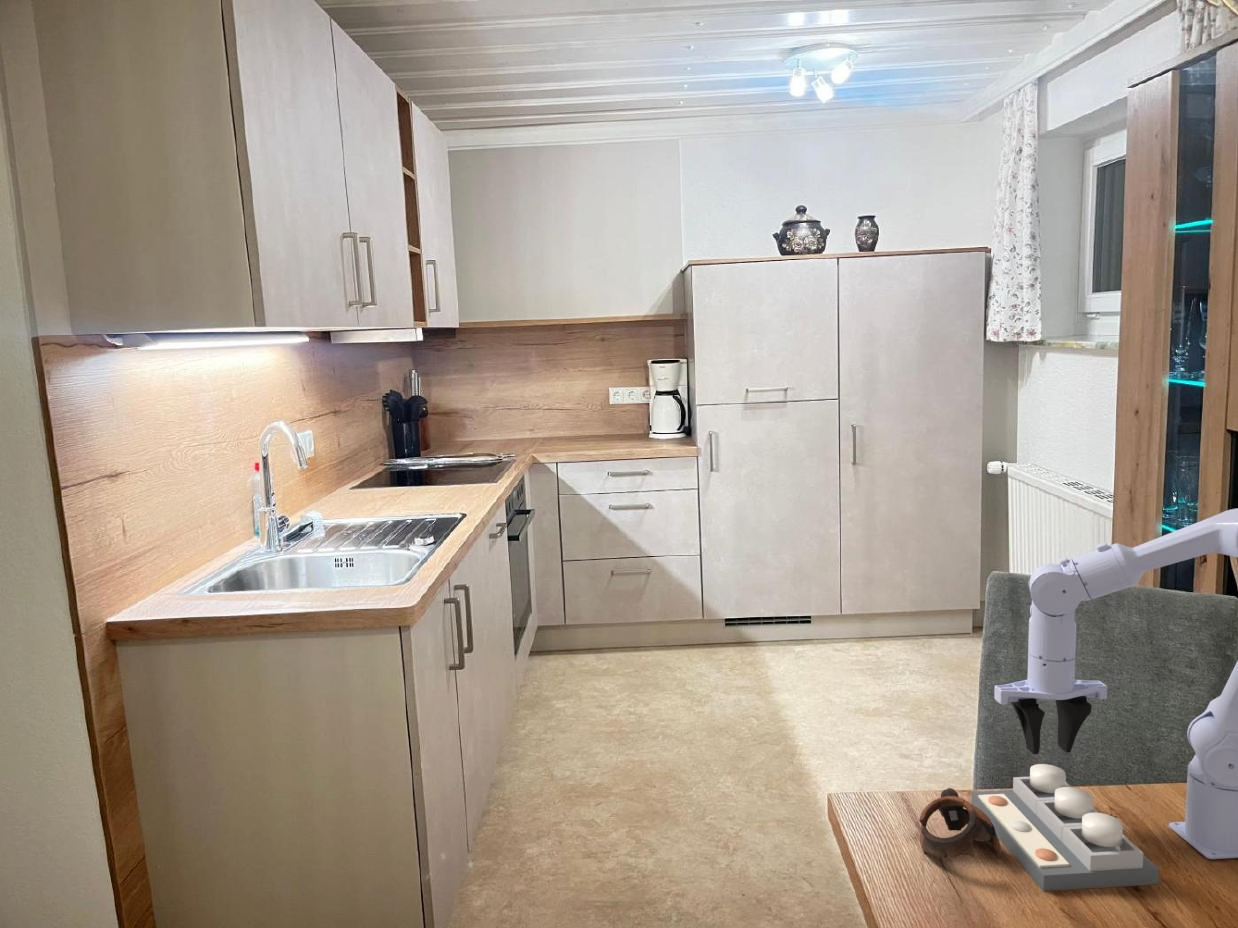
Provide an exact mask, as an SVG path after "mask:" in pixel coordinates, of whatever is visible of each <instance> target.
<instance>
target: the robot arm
mask: <svg viewBox="0 0 1238 928" xmlns="http://www.w3.org/2000/svg"><path fill="white" fill-rule="evenodd" d="M1095 547H1096V549H1095V550H1092V551H1090V552H1087V553H1085V554H1082V555H1081V554H1080V555H1078V556H1076V557H1072V558H1070V559H1068V558H1067V556H1066V557H1063V558H1060V559H1058V562H1059V564H1058V563H1053V562H1052V563H1045V564H1042V565H1039V566H1038V567H1036V569H1034V571H1033V572H1032V573H1031V575H1030V578H1029V580H1028V582H1027V584H1028V590H1029V592H1030V598H1031V604H1030V606H1029V607H1030V609H1029V613H1030V617H1029V620H1028V645H1027V651H1028V652H1027V679H1023V680H1020V681H1019V680H1018V681H1015V682H1010V683H1006V684H999V685H997V684H996V685H994V698H993V699H994V700H995V701H996V702H997V703H998V704H999V705H1008V704H1009V703H1011V705H1012V707H1013V709H1014V712H1015V713H1016V715H1017V719H1018V720H1019V723H1020V726H1021V729H1022V732H1023V736H1024V742H1025V747H1026V749H1027V750H1028V751H1029V752H1030V753H1031V754H1032V755H1039V753H1040V748H1041V729H1042V724H1043V720H1044V718H1045V717H1044V716H1045V714H1046V712H1045V711H1044V710H1042V709H1041V708H1040V707H1039V706H1040V705H1039V704H1040V703H1037V702H1038V701H1055V704H1056V710H1057V711H1056V713H1057V745H1058V748H1060V749H1061V750H1063V752H1065V753H1068V754H1069V753H1071V752H1072V749H1073V746H1074V743H1075V741H1076V737H1077V735H1078V733H1079V731H1080V729H1081V727H1082V725H1083V724H1084V721H1086V719H1087V718H1088V716H1089V715H1090V714H1092V711H1093V710H1092V709H1093V705H1092V704H1091V703H1090V702H1089V701H1087V700H1088V699H1095V698H1096V699H1098V700H1107V698H1108V685H1107V684H1106V683H1103V682H1102V681H1100V680H1099V679H1098V680H1087V679H1085V680H1084V679H1075V675H1076V648H1077V647H1076V645H1077V622H1076V621H1075V620H1076V619H1075V618H1076V617H1075V616H1076V612H1075V611H1076V610H1077V608H1078V607H1079V606H1080V603H1081V602H1088V601H1092V600H1094V599H1097V598H1100V597H1103V596H1104V597H1105V596H1106V595H1107V596H1108V595H1110V594H1113V593H1115V592H1119V591H1122V590H1126V589H1128V588H1131V587H1134V586H1137V585H1138V584H1139V582H1140V580H1141V579H1142V577H1143V575H1144V574H1145V572H1149V571H1152V570H1155V569H1159V568H1164V567H1167V566H1169V565H1172V564H1176V563H1180V562H1184V561H1187V560H1191V559H1194V558H1197V557H1201V556H1206V555H1208V554H1209V555H1210V554H1213V553H1215V554H1221V555H1224V556H1225V555H1226V556H1228V557H1229V556H1230V557H1235V558H1238V508H1232V509H1228V510H1225V511H1222V512H1220V513H1218V514H1216V515H1212V516H1210V517H1208V518H1206V519H1202V520H1201V521H1198V522H1196V523H1193V524H1190V525H1188V526H1185V527H1183V528H1180V529H1177V530H1175V531H1172V532H1169V533H1167V534H1164V535H1162V536H1159V537H1157V538H1153V539H1151V540H1149V541H1147V542H1144V543H1141V544H1139V545H1137V546H1134V547H1130V546H1127V545H1123V544H1121V543H1117V542H1116V543H1113V544H1110V545H1108V543H1107V542H1106V541H1103V542H1101V543H1098V544H1096V545H1095ZM1186 735H1187V736H1186V737H1187V740H1188V743H1189V744H1190V746H1191V748H1193V750H1194V753H1195V754H1194V756H1193V758H1192V760H1190V761H1189V763H1188V764H1187V776H1186V779H1187V780H1186V797H1185V811H1184V813H1185V815H1184V816H1185V817H1184V821H1173V822H1169V823H1168V828H1170V829H1171V830H1172V831H1174V832H1175V833H1176V834H1177V835H1179V837H1181V838H1182V839H1183V840H1185V842H1187V843H1188V844H1189V845H1191V846H1192V847H1193V848H1194V849H1196V851H1198V852H1199V853H1200V854H1202V855H1203V857H1205V858H1206V859H1209V860H1217V859H1218V860H1220V859H1221V860H1222V859H1223V860H1224V859H1238V660H1237V661H1236V663H1235V666H1234V667H1233V670H1232V671H1231V674H1230V676H1229V678H1228V680H1227V681H1226V684H1225V685H1224V687H1223V690H1222V692H1221V694H1220V695H1219V696H1217V697H1216V698H1213V699H1212V700H1210V701H1209V704H1208V705H1207V707H1206V709H1205V710H1204V712H1202V713H1201V714H1200V715H1198V716H1197V717H1195V718H1193V720H1192V721H1191V722H1190V723H1189V725H1188V728H1187V734H1186Z"/></svg>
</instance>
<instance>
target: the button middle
mask: <svg viewBox="0 0 1238 928" xmlns="http://www.w3.org/2000/svg"><path fill="white" fill-rule="evenodd" d="M1093 802H1094V797H1093V795H1091V793H1089V792H1088V791H1086V790H1083V789H1080V788H1077V787H1072V786H1071V787H1061V788H1058V789H1056V790H1055V801H1054V808H1055V810H1056V811H1057V812H1059V813H1060V814H1062V815H1064V816H1067V817H1071V818H1077V819H1082V817H1083V815H1085V814H1087V813H1092V807H1094V805H1093V804H1094V803H1093Z"/></svg>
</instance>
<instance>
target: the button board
mask: <svg viewBox="0 0 1238 928" xmlns="http://www.w3.org/2000/svg"><path fill="white" fill-rule="evenodd" d="M1012 786H1013V787H1012V789H1000V790H983V791H980V790H979V791H971V799H970V801H971V802H970V804H972V805H974V806H976V807H977V808H979V809H981V810H982V811H983V812H984V813H985V814H986V815H987V816H988V817H989V819H990V820H991V822H992V824H993V825H994V827H995V832H996V835H997V837H998V839H999V841H1001V842H1002V844H1003V845H1004V846H1005V848H1007V850H1008V851H1009V852H1010V853H1011V855H1013V857H1014V858H1015V859H1016V861H1018V863H1019V864H1020V865H1021V867H1023V869H1024V870H1025V871H1026V872H1027V874H1028V875H1029V876H1030V877H1031V878H1032V879H1033V881H1035V883H1036V884H1037V886H1039V888H1040V889H1041V890H1042V891H1043V892H1047V891H1048V892H1050V891H1064V890H1066V891H1067V890H1082V889H1083V890H1085V889H1100V888H1114V887H1115V888H1116V887H1117V888H1118V887H1121V888H1122V887H1134V886H1135V887H1138V886H1153V885H1154V886H1156V885H1159V872H1160V869H1159V867H1158V866H1156V865H1155V864H1154V863H1153V862H1152V861H1151V860H1150V859H1149V858H1148V857H1147V856H1145V855H1144V852H1143V851H1142V850H1141V848H1139V847H1138V846H1136V845H1135V844H1134V843H1133V842H1132V841H1131V840H1130V838H1128V837H1127V836H1126V835H1125V834H1123V837H1122V844H1121V845H1119V846H1117V847H1103V846H1099V845H1096V844H1093V843H1091V842H1089V841H1087V840H1086V839H1085V838H1084V837H1083V836H1082V819H1077V818H1071V817H1067V816H1064V815H1062V814H1060V813H1059V812H1057V811H1056V810H1055V808H1054V801H1055V793H1046V792H1042V791H1039V790H1037V789H1035V788H1033V787H1032V786H1031V785H1030V776H1015V777H1013V779H1012ZM1065 787H1072V786H1071V785H1070V784H1069V783H1067V782H1066V785H1065ZM1094 812H1095V813H1100V811H1098V810H1097V809H1096V808H1095V807H1094V806H1093V807H1092V813H1094Z"/></svg>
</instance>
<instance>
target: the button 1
mask: <svg viewBox="0 0 1238 928" xmlns="http://www.w3.org/2000/svg"><path fill="white" fill-rule="evenodd" d="M1029 771H1030V772H1029V777H1030V785H1031V786H1032V787H1033V788H1035V789H1037V790H1039V791H1042V792H1046V793H1055V790H1056V789H1058V788H1061V787H1065V785H1066V783H1067V781H1066V780H1067V776H1066V775H1067V774H1066V773H1067V772H1065V771H1064V770H1063V769H1062V768H1061V767H1058V766H1055V765H1053V764H1046V763H1037V764H1034V765H1031V767H1030V769H1029Z"/></svg>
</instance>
